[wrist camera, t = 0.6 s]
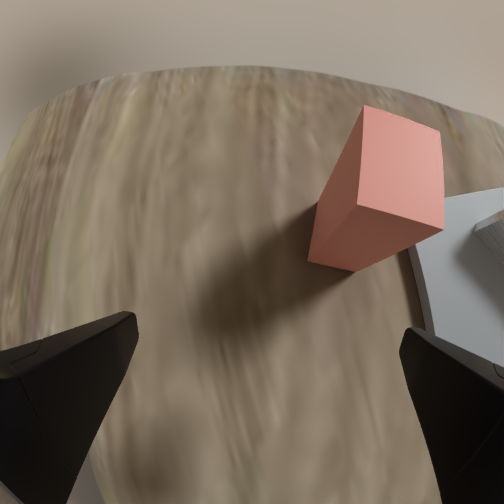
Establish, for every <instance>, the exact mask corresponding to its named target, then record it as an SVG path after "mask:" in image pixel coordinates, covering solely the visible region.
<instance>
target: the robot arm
mask: <svg viewBox="0 0 504 504" xmlns="http://www.w3.org/2000/svg"><path fill="white" fill-rule="evenodd" d="M138 339H139V333H138V326H137V319H136V315H135V314H134V313H133V312H128V311H122V312H119V313H116V314H113V315H110V316H107V317H105V318H102V319H99V320H96V321H93V322H90V323H87V324H84V325H81V326H78V327H75V328H73V329H70V330H67V331H64V332H61V333H58V334H55V335H52V336H49V337H46V338H43V339H40V340H37V341H34V342H31V343H28V344H24V345H21V346H18V347H14V348H10V349H7V350H3V351H0V504H66V503H67V500H68V498H69V495H70V493H71V491H72V488H73V486H74V483H75V481H76V479H77V477H76V476H78V473H79V471H80V469H81V467H82V464H83V462H84V460H85V458H86V455H87V453H88V451H89V449H90V447H91V444H92V442H93V440H94V438H95V436H96V434H97V431H98V429H99V427H100V425H101V423H102V421H103V419H104V417H105V415H106V413H107V411H108V408H109V406H110V404H111V402H112V400H113V398H114V396H115V394H116V392H117V390H118V388H119V386H120V384H121V382H122V380H123V378H124V376H125V374H126V371H127V369H128V366H129V363H130V361H131V358H132V355H133V353H134V350H135V347H136V345H137V342H138ZM399 355H400V359H401V363H402V367H403V371H404V375H405V379H406V383H407V386H408V390H409V393H410V396H411V399H412V401H413V404H414V407H415V410H416V413H417V416H418V419H419V422H420V425H421V428H422V431H423V434H424V437H425V440H426V444H427V447H428V450H429V454H430V457H431V461H432V464H433V468H434V471H435V475H436V479H437V483H438V487H439V491H440V496H441V500H442V504H504V367H502V366H500V365H498V364H496V363H492V362H491V361H489V360H487V359H485V358H483V357H480V356H478V355H476V354H474V353H472V352H470V351H468V350H465V349H463V348H461V347H459V346H457V345H455V344H452V343H450V342H448V341H446V340H444V339H442V338H440V337H437V336H435V335H433V334H431V333H429V332H427V331H424V330H422V329H420V328H418V327H412V328H407V329H406V330H405V333H404V336H403V339H402V342H401V345H400V349H399Z"/></svg>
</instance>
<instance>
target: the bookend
mask: <svg viewBox="0 0 504 504" xmlns="http://www.w3.org/2000/svg"><path fill="white" fill-rule="evenodd" d="M473 233H474V234H475V235H476V236H477V237H478V238H479V239H480V241H481V242H482V243H483V244H484V245H485V246H486V247H487V248H488V250H489V251H490V252H491V253H492V254H493V256H494V257H495V258H496V259H497V260H498V262H499V263H500V264H501V265H502V267H503V268H504V209H503V210H501V211H499V212H497V213H495V214H493V215H491V216H490V217H488V218H486V219H484V220H482V221H480V222H478V223H477V224H476V226H475V229H474V231H473Z"/></svg>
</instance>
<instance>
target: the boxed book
mask: <svg viewBox="0 0 504 504" xmlns="http://www.w3.org/2000/svg"><path fill="white" fill-rule="evenodd" d="M443 230H444V175H443V160H442V149H441V139H440V132H439V131H436V130H434V129H432V128H429V127H427V126H424V125H422V124H419V123H416V122H414V121H411V120H408V119H406V118H403V117H400V116H397V115H394V114H391V113H388V112H385V111H382V110H379V109H376V108H373V107H370V106H366V105H364V106H363V108H362V110H361V112H360V115H359V117H358V119H357V121H356V123H355V126H354V128H353V130H352V132H351V134H350V136H349V138H348V141H347V143H346V145H345V147H344V149H343V151H342V153H341V155H340V157H339V159H338V162H337V164H336V166H335V168H334V170H333V172H332V174H331V176H330V178H329V180H328V182H327V184H326V186H325V188H324V190H323V192H322V194H321V196H320V198H319V200H318V204H317V210H316V215H315V221H314V227H313V232H312V238H311V243H310V248H309V254H308V259H307V261H308V262H312V263H317V264H321V265H326V266H331V267H335V268H340V269H344V270H349V271H353V272H357V271H359V270H361V269H363V268H366V267H368V266H370V265H372V264H374V263H377V262H379V261H381V260H383V259H385V258H387V257H390V256H392V255H394V254H396V253H398V252H400V251H402V250H404V249H406V248H409V247H411V246H413V245H415V244H417V243H419V242H421V241H423V240H425V239H427V238H429V237H431V236H433V235H435V234H437V233H439V232H441V231H443Z"/></svg>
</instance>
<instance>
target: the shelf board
mask: <svg viewBox="0 0 504 504" xmlns="http://www.w3.org/2000/svg"><path fill="white" fill-rule="evenodd" d="M503 209H504V187H502V188H497V189H491V190H485V191H480V192H474V193H469V194H463V195H458V196H452V197H447V198H444V230H443V231H441V232H439V233H437V234H435V235H433V236H431V237H429V238H427V239H425V240H423V241H421V242H419V243H417V244H415V245H413V246H411V247H409V248H407V249H408V252H409V256H410V260H411V264H412V268H413V272H414V276H415V280H416V284H417V289H418V293H419V298H420V303H421V307H422V313H423V318H424V323H425V329H426V331H427V332H429V333H431V334H433V335H435V336H437V337H440V338H442V339H444V340H446V341H448V342H450V343H452V344H455V345H457V346H459V347H461V348H463V349H465V350H468V351H470V352H472V353H474V354H476V355H478V356H480V357H483V358H485V359H487V360H489V361H491V362H492V363H496V364H498V365H500V366H502V367H504V268H503V267H502V265H501V264H500V263H499V262H498V260H497V259H496V258H495V257H494V256H493V254H492V253H491V252H490V251H489V250H488V248H487V247H486V246H485V245H484V244H483V243H482V242H481V241H480V239H479V238H478V237H477V236H476V235H475V234H474V233H473V231H474V229H475V226H476V224H477V223H478V222H480V221H482V220H484V219H486V218H488V217H490V216H491V215H493V214H495V213H497V212H499V211H501V210H503Z"/></svg>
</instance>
